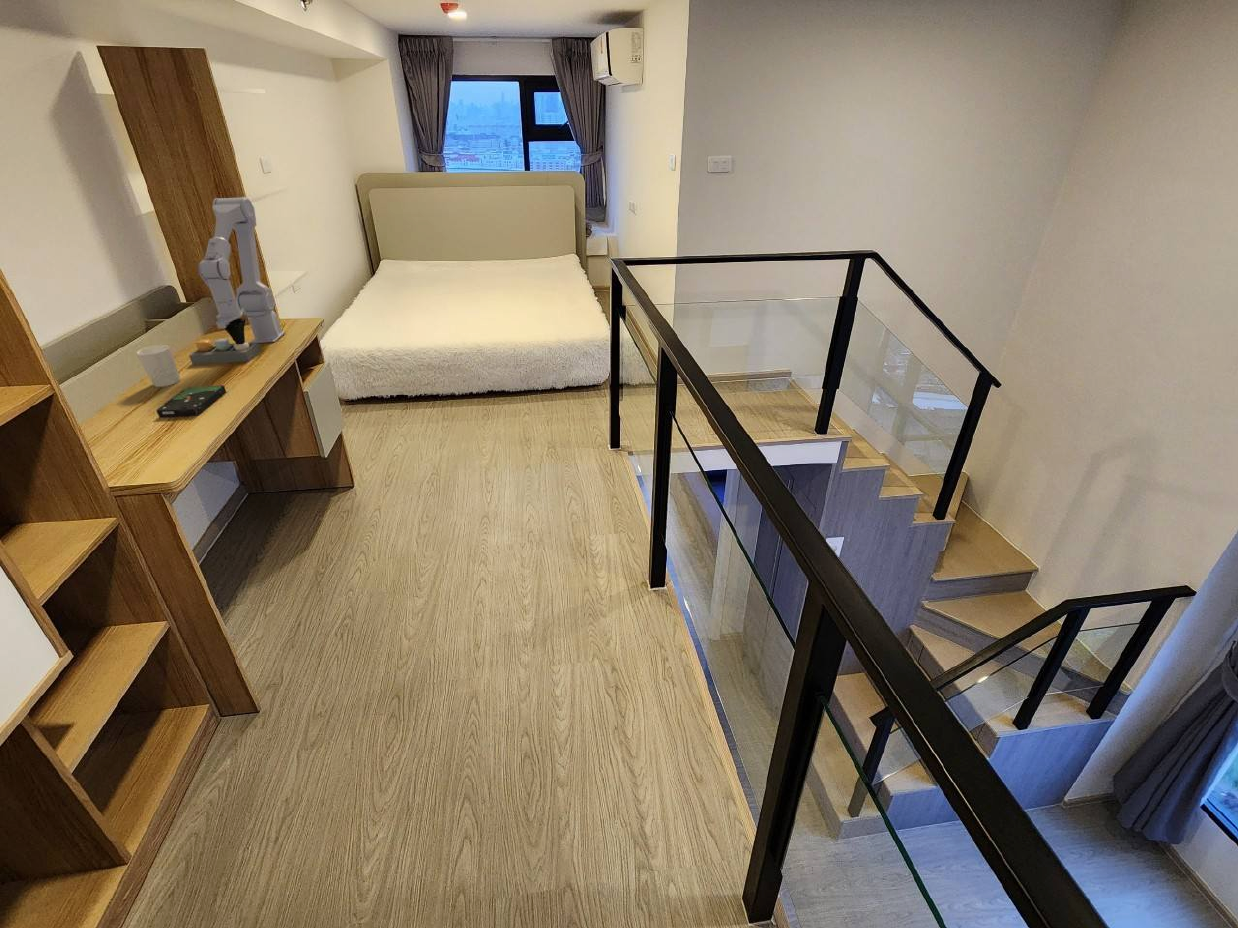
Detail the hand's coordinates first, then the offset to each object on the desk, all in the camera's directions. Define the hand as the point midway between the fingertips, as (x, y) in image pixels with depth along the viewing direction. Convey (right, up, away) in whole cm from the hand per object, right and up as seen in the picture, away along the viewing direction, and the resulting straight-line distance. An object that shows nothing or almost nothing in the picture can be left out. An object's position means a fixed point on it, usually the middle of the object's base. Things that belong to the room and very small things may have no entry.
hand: (240, 343), depth 197 cm
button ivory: (0, -2, +1) cm, 2 cm away
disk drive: (+4, -22, -27) cm, 35 cm away
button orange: (-11, -2, 0) cm, 11 cm away
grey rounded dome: (-5, -1, 0) cm, 6 cm away
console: (-5, -4, +2) cm, 7 cm away
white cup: (-13, -14, -14) cm, 24 cm away
